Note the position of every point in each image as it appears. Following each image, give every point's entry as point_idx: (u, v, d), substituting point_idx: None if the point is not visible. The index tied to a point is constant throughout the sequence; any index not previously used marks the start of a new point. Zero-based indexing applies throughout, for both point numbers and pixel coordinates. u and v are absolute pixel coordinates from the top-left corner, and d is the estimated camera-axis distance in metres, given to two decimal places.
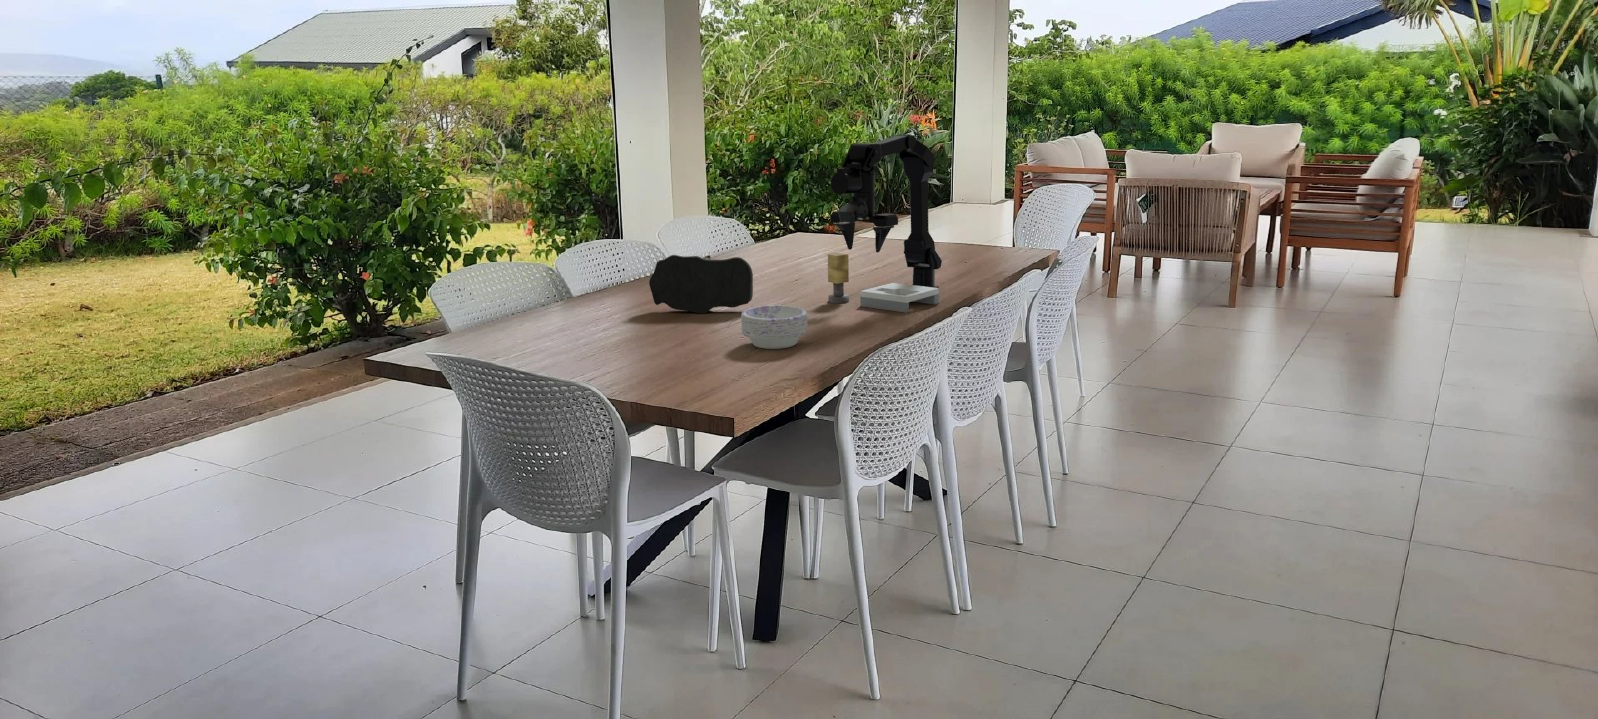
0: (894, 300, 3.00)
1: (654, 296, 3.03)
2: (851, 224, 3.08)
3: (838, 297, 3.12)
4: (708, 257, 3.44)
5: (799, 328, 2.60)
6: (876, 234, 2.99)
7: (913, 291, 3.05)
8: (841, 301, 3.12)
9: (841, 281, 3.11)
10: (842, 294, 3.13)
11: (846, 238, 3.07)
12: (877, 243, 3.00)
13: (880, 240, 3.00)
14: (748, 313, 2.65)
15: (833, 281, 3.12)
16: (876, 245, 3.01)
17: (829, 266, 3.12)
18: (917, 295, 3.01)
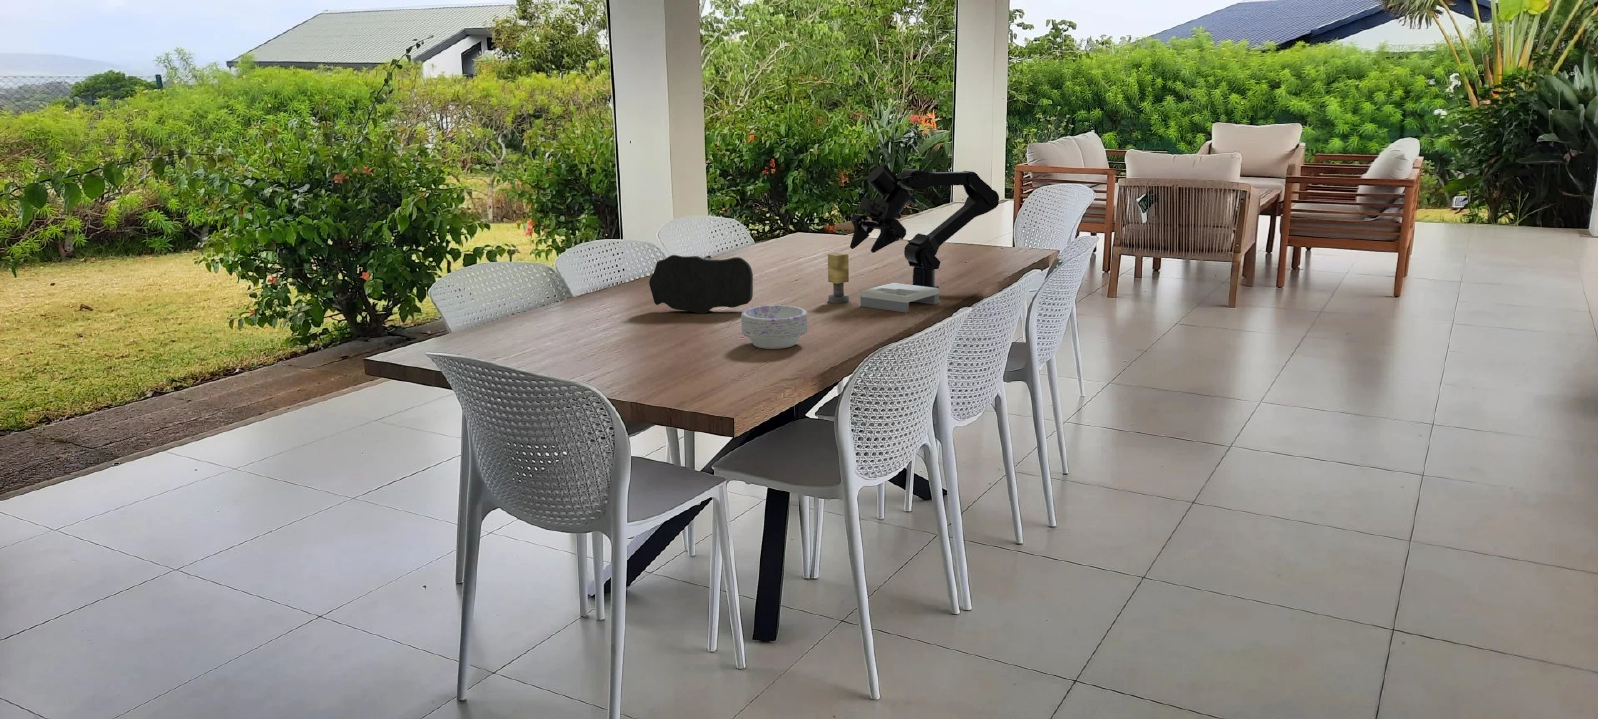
0: (894, 300, 3.00)
1: (654, 296, 3.03)
2: (865, 232, 3.22)
3: (838, 297, 3.12)
4: (709, 257, 3.44)
5: (799, 328, 2.60)
6: (880, 234, 3.11)
7: (913, 291, 3.05)
8: (841, 301, 3.12)
9: (841, 281, 3.11)
10: (842, 294, 3.13)
11: (854, 237, 3.19)
12: (876, 242, 3.11)
13: (880, 241, 3.11)
14: (748, 313, 2.65)
15: (833, 281, 3.12)
16: (874, 244, 3.11)
17: (829, 266, 3.12)
18: (917, 295, 3.01)
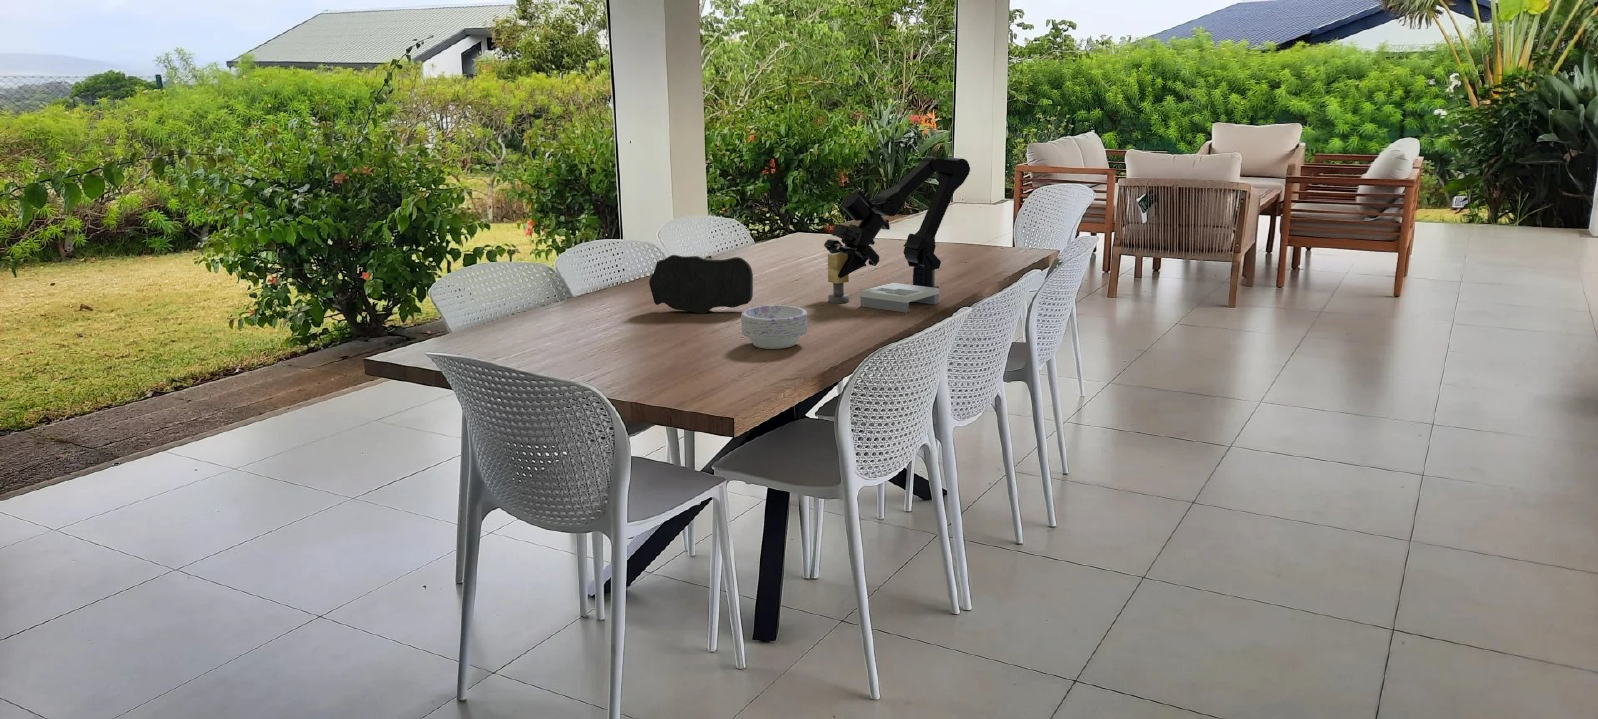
0: (894, 300, 3.00)
1: (654, 296, 3.03)
2: None
3: (838, 297, 3.12)
4: (709, 257, 3.43)
5: (799, 328, 2.60)
6: (847, 260, 3.10)
7: (913, 291, 3.05)
8: (841, 301, 3.12)
9: (841, 281, 3.11)
10: (842, 294, 3.13)
11: None
12: (843, 268, 3.10)
13: (847, 267, 3.10)
14: (748, 313, 2.65)
15: (833, 281, 3.12)
16: (841, 269, 3.10)
17: (829, 266, 3.12)
18: (917, 295, 3.01)
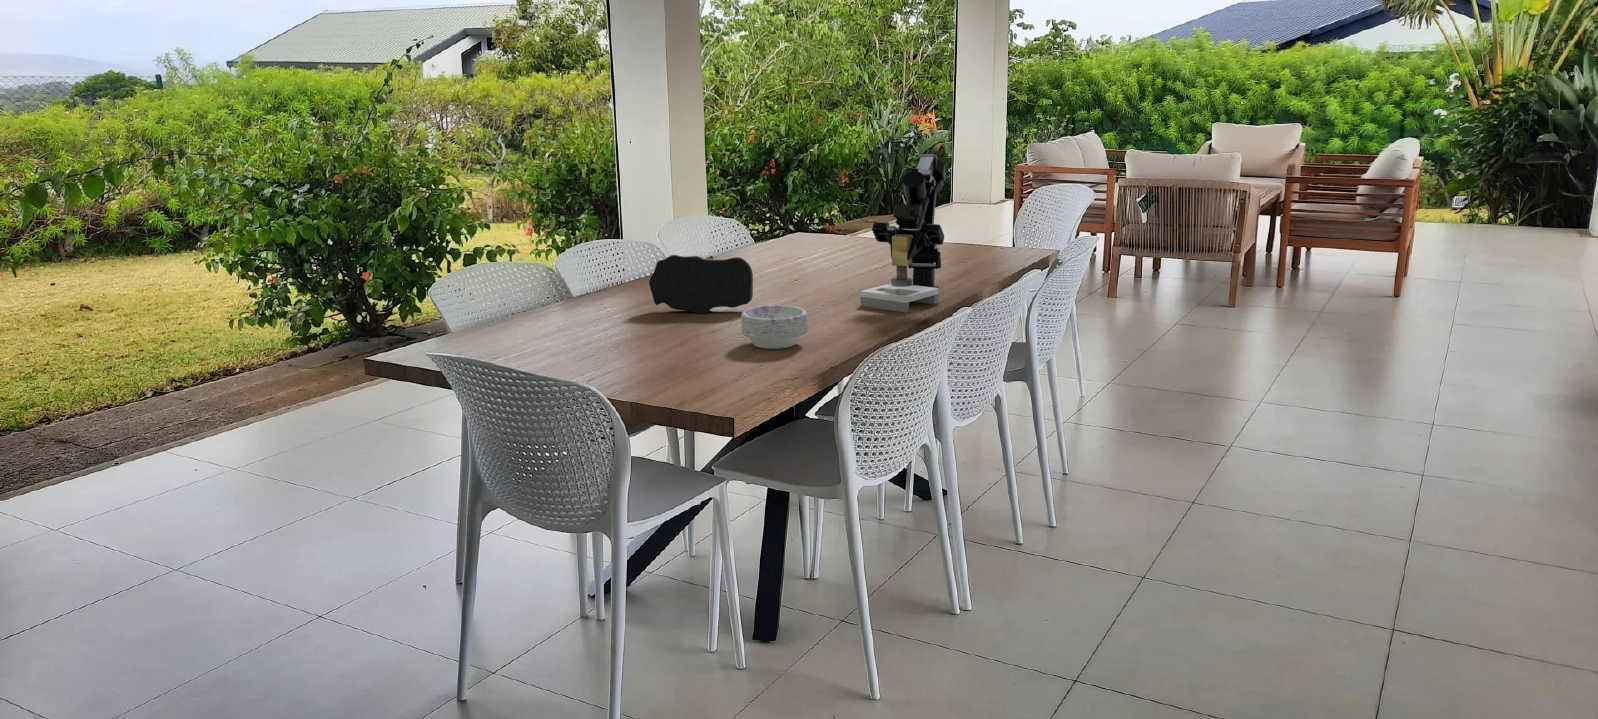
0: (894, 300, 3.00)
1: (654, 296, 3.03)
2: None
3: (906, 280, 3.01)
4: (711, 257, 3.43)
5: (799, 328, 2.60)
6: (913, 241, 3.00)
7: (913, 291, 3.05)
8: (909, 284, 3.01)
9: (908, 263, 3.01)
10: (906, 277, 3.02)
11: None
12: (911, 249, 2.99)
13: (914, 248, 3.00)
14: (748, 313, 2.65)
15: (900, 264, 3.00)
16: (909, 251, 2.99)
17: (894, 249, 3.00)
18: (917, 295, 3.01)
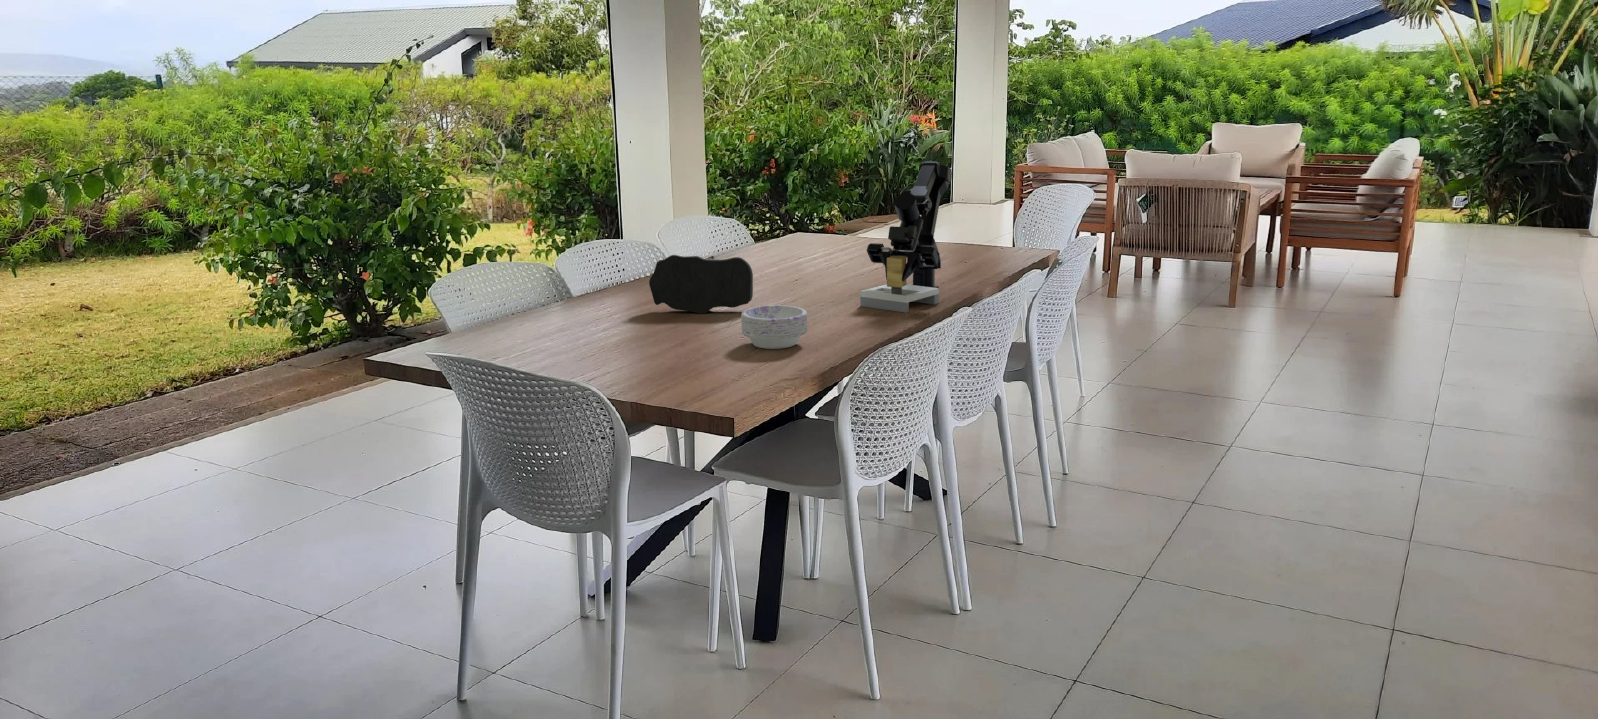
0: (894, 300, 3.00)
1: (654, 296, 3.03)
2: None
3: None
4: (712, 258, 3.43)
5: (799, 328, 2.60)
6: (908, 262, 3.03)
7: (913, 291, 3.05)
8: None
9: (903, 284, 3.03)
10: None
11: None
12: (906, 270, 3.02)
13: (909, 269, 3.03)
14: (748, 313, 2.65)
15: (895, 285, 3.02)
16: (904, 272, 3.02)
17: (889, 270, 3.02)
18: (917, 295, 3.01)
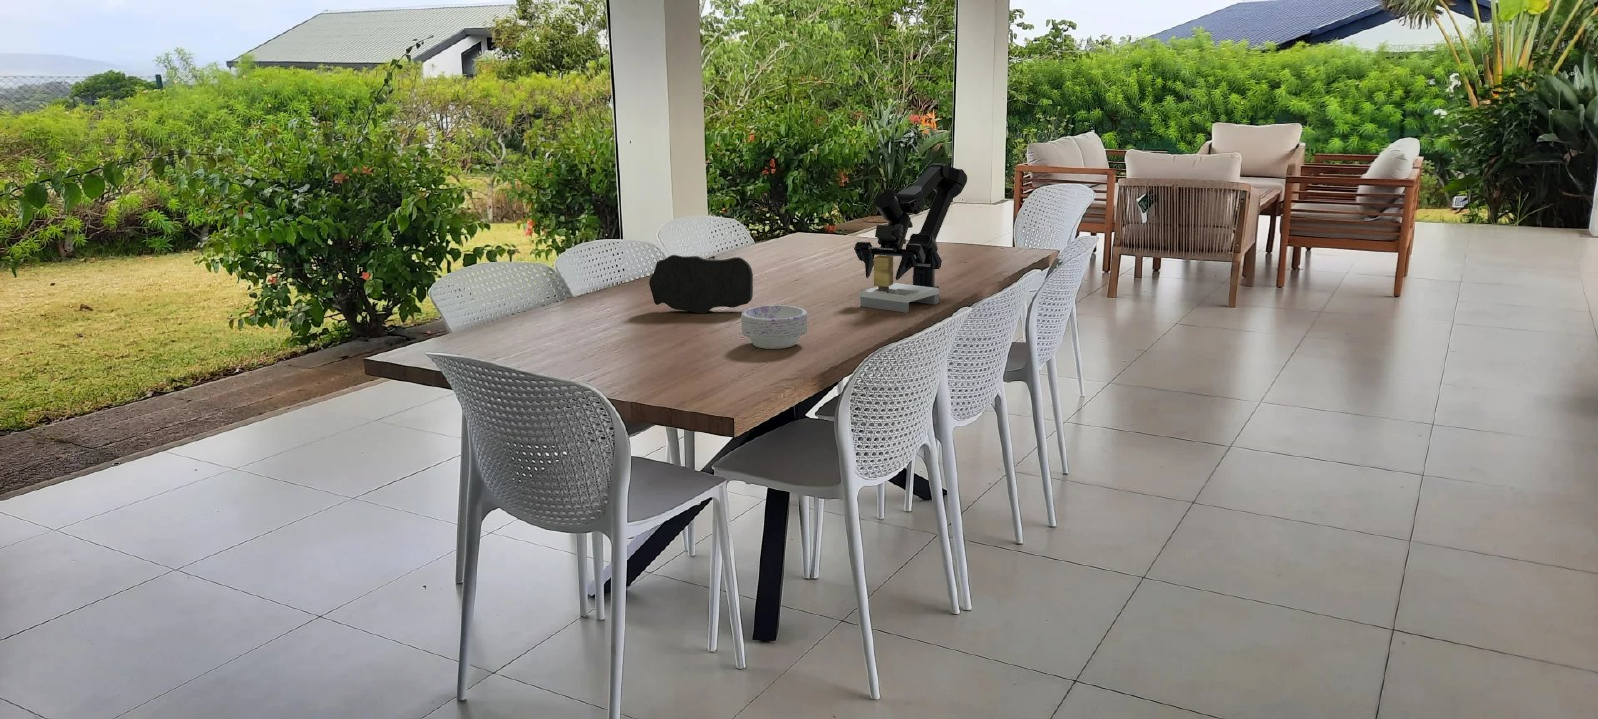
0: (894, 300, 3.00)
1: (654, 296, 3.03)
2: (872, 260, 3.11)
3: None
4: (713, 258, 3.43)
5: (799, 328, 2.60)
6: (902, 260, 3.04)
7: (913, 291, 3.05)
8: None
9: (889, 284, 3.06)
10: None
11: (867, 265, 3.08)
12: (900, 269, 3.04)
13: (903, 268, 3.04)
14: (748, 313, 2.65)
15: (882, 284, 3.05)
16: (898, 271, 3.04)
17: (876, 270, 3.05)
18: (917, 295, 3.01)
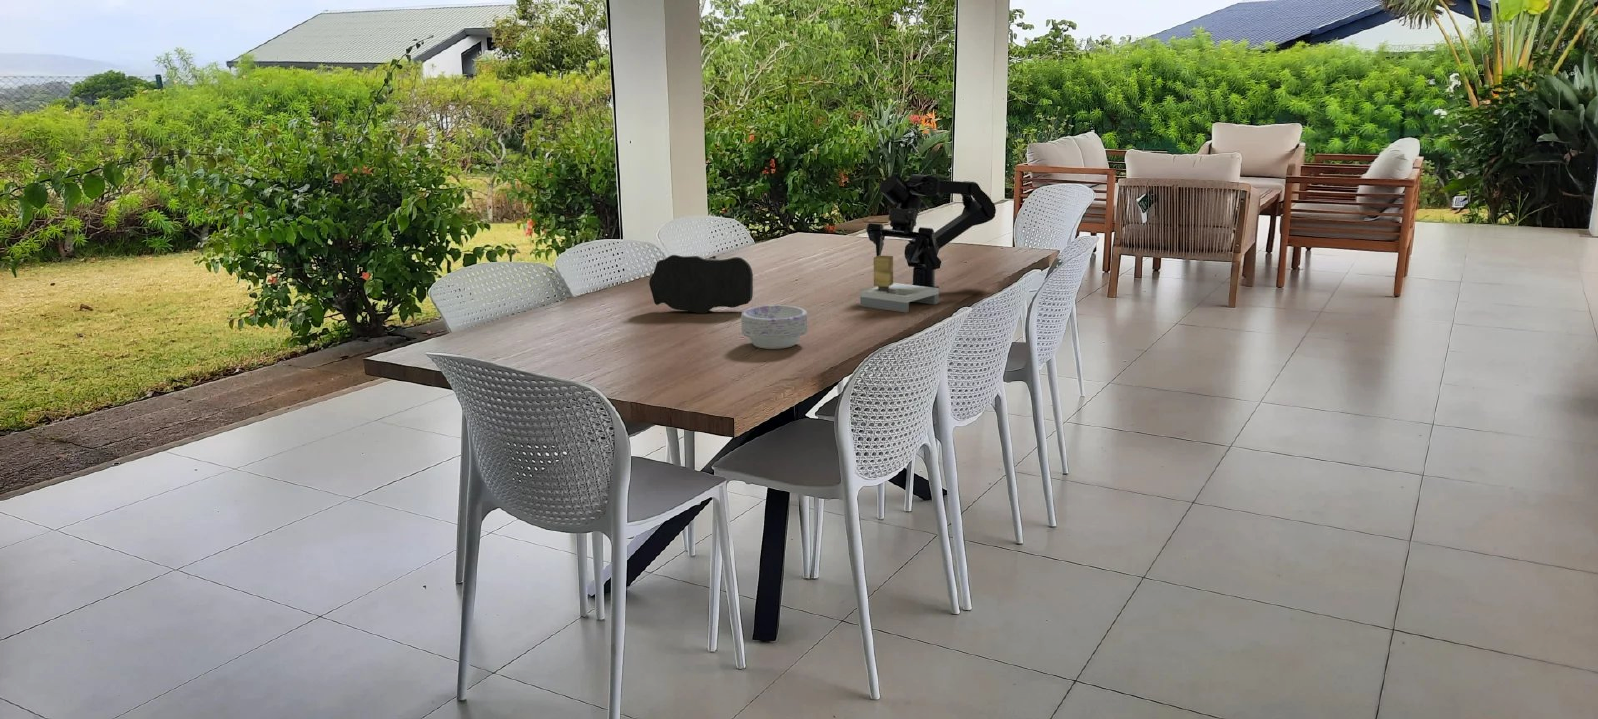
0: (894, 300, 3.00)
1: (654, 296, 3.03)
2: (882, 241, 3.18)
3: None
4: (714, 258, 3.43)
5: (799, 328, 2.60)
6: (915, 244, 3.12)
7: (913, 291, 3.05)
8: None
9: (889, 284, 3.06)
10: None
11: (878, 247, 3.15)
12: (913, 252, 3.11)
13: (916, 251, 3.12)
14: (748, 313, 2.65)
15: (882, 284, 3.05)
16: (911, 254, 3.11)
17: (876, 270, 3.05)
18: (917, 295, 3.01)
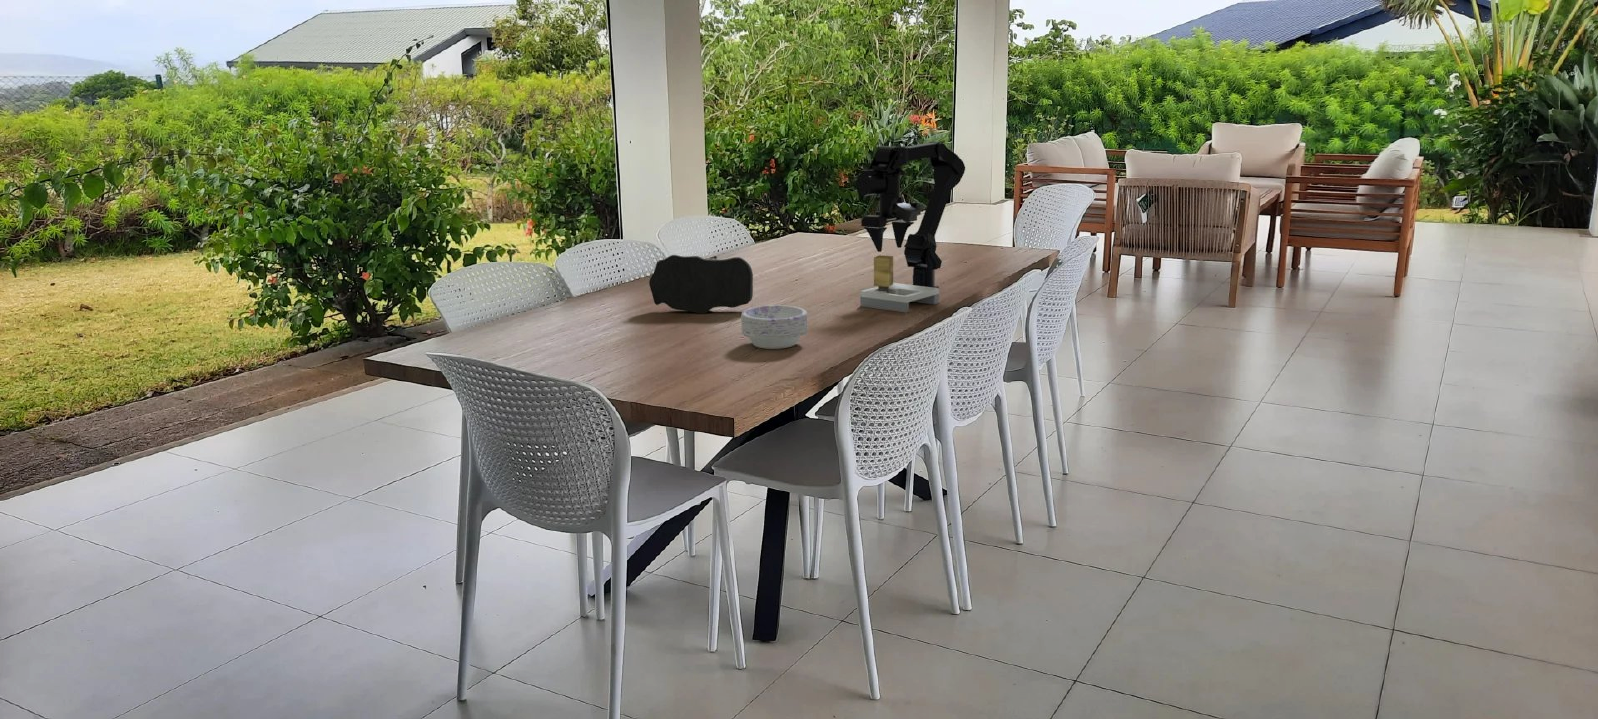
0: (894, 300, 3.00)
1: (654, 296, 3.03)
2: None
3: None
4: (715, 258, 3.42)
5: (799, 328, 2.60)
6: (904, 230, 3.19)
7: (913, 291, 3.05)
8: None
9: (890, 284, 3.06)
10: None
11: (881, 241, 3.12)
12: (903, 238, 3.20)
13: None
14: (748, 313, 2.65)
15: (882, 284, 3.05)
16: (902, 240, 3.20)
17: (876, 270, 3.05)
18: (917, 295, 3.01)
